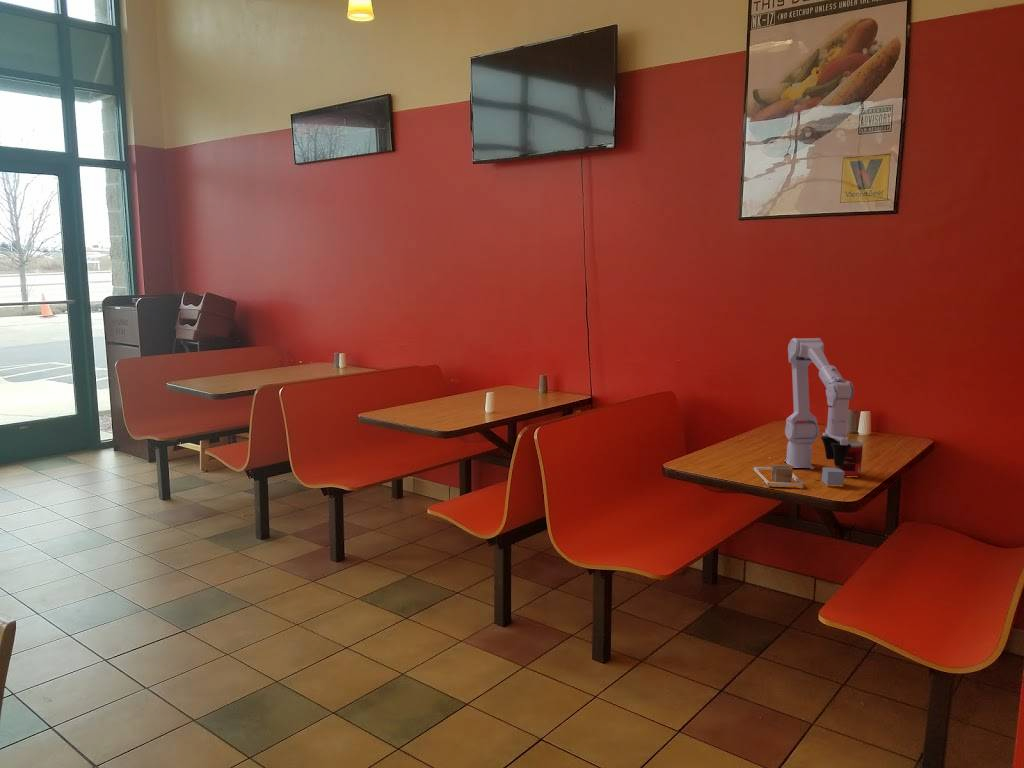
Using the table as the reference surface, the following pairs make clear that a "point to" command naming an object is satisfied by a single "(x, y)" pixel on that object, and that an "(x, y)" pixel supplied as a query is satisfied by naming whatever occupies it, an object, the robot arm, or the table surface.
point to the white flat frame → (799, 482)
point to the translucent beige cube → (782, 473)
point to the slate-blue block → (833, 476)
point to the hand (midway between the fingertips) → (834, 462)
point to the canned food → (853, 459)
